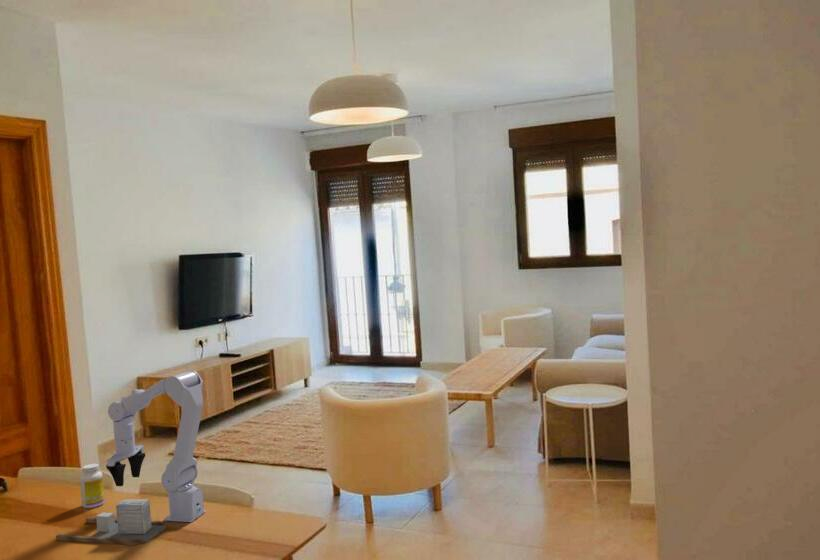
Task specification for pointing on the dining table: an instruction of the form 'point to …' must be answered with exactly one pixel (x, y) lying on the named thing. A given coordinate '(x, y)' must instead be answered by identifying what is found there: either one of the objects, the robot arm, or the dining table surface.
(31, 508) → the dining table surface
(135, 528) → the medicine box
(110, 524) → the grey tray plate
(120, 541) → the walnut guide rails
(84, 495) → the supplement bottle
